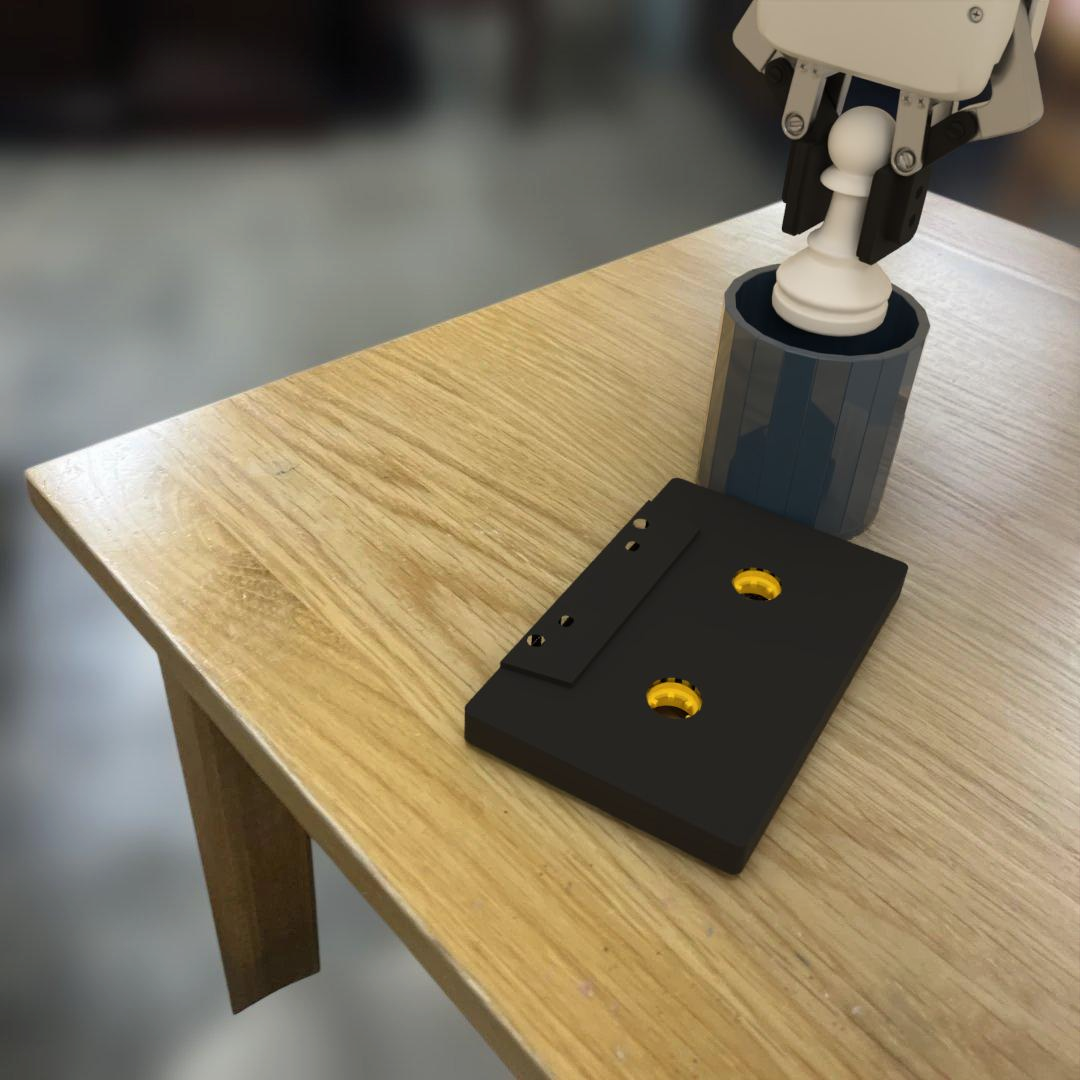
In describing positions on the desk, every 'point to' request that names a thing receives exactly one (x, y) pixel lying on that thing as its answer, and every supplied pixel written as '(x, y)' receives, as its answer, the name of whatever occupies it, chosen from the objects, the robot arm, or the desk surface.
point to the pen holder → (807, 408)
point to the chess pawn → (841, 238)
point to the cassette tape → (690, 669)
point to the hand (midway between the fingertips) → (843, 235)
